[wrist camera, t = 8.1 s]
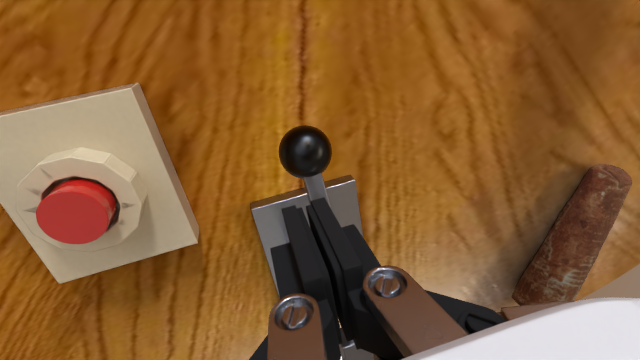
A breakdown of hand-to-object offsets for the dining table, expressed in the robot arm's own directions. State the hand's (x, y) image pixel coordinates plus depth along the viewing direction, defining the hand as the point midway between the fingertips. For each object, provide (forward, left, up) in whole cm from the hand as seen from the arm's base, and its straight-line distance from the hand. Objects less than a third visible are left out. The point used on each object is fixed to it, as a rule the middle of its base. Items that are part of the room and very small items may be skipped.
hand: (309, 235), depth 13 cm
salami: (+21, +30, -15) cm, 39 cm away
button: (+1, -12, -11) cm, 17 cm away
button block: (+1, -12, -15) cm, 19 cm away
